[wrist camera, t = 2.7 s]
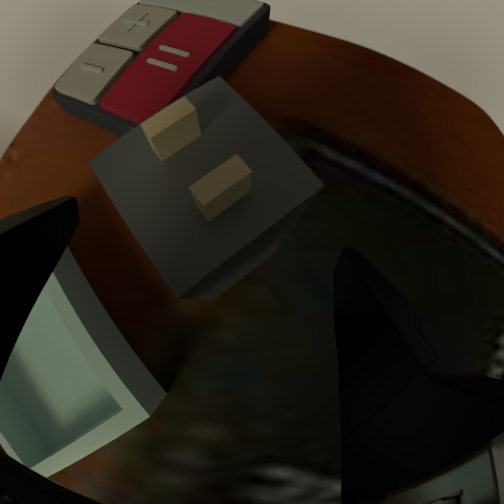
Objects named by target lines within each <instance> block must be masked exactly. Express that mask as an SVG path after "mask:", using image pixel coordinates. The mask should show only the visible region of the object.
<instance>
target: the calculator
mask: <svg viewBox="0 0 504 504" xmlns="http://www.w3.org/2000/svg"><path fill="white" fill-rule="evenodd" d="M269 15H270V5H268V4H266V3H263V2H260V1H257V0H141V1H140V2H139V3H137V4H135V5H133V6H131V7H130V8H129V9H128V10H127V11H126V12H124V13H123V14H122V15H121V16H120V17H119V18H118V19H117V20H115V21H114V22H113V23H112V24H111V25H110V26H109V27H108V28H107V29H106V30H105V31H104V32H103V33H102V34H101V35H100V36H99V37H98V40H97V41H96V42H95V43H93V44H91V45H90V46H89V47H88V48H87V49H86V50H85V51H84V52H83V53H82V54H81V56H80V57H79V58H78V59H77V60H76V61H75V62H74V63H73V65H72V66H71V67H70V68H69V69H68V70H67V72H66V73H65V74H64V75H63V76H62V78H61V79H60V80H59V81H58V83H57V84H56V85H55V89H54V91H53V92H52V97H53V98H54V99H55V100H56V102H57V103H58V104H59V105H60V106H61V107H62V108H63V109H64V110H65V111H66V112H67V113H69V114H72V115H74V116H76V117H79V118H81V119H83V120H85V121H88V122H90V123H92V124H94V125H97V126H99V127H101V128H103V129H105V130H108V131H110V132H112V133H114V134H116V135H118V136H121V137H122V136H123V135H125V134H126V133H127V132H129V131H130V130H132V129H133V128H134V127H136V126H137V125H139V124H140V123H142V122H143V121H145V120H146V119H148V118H149V117H151V116H152V115H154V114H155V113H157V112H158V111H160V110H161V109H163V108H165V107H166V106H168V105H169V104H171V103H173V102H174V101H176V100H178V99H179V98H181V97H183V96H184V95H186V94H188V93H189V92H191V91H193V90H195V89H196V88H198V87H200V86H202V85H203V84H205V83H207V82H209V81H211V80H213V79H215V78H216V77H218V76H220V77H221V78H222V79H223V80H225V78H226V77H227V76H228V75H229V73H230V72H231V71H232V70H233V69H234V67H235V66H236V65H237V64H238V63H239V62H240V60H241V59H242V58H243V57H246V56H247V55H248V54H249V53H250V52H251V51H252V50H253V49H254V48H255V47H256V45H257V44H258V43H259V42H260V41H261V40H262V39H263V38H264V37H265V36H266V35H267V34H268V26H269Z"/></svg>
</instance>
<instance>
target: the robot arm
mask: <svg viewBox="0 0 504 504" xmlns="http://www.w3.org/2000/svg"><path fill="white" fill-rule="evenodd" d="M78 223H79V213H78V205H77V200H76V198H75V197H70V196H64V197H60V198H57V199H54V200H52V201H49V202H46V203H43V204H40V205H37V206H34V207H32V208H29V209H26V210H23V211H21V212H18V213H16V214H13V215H10V216H8V217H5V218H3V219H0V381H1V378H2V376H3V373H4V370H5V368H6V365H7V363H8V361H9V357H10V355H11V353H12V351H13V349H14V346H15V344H16V342H17V340H18V337H19V335H20V333H21V331H22V329H23V327H24V325H25V323H26V321H27V319H28V317H29V315H30V313H31V311H32V309H33V307H34V305H35V303H36V301H37V299H38V297H39V296H40V294H41V292H42V290H43V288H44V286H45V285H46V283H47V281H48V279H49V278H50V276H51V274H52V272H53V271H54V269H55V267H56V266H57V264H58V262H59V261H60V259H61V257H62V255H63V253H64V251H65V249H66V247H67V245H68V243H69V241H70V239H71V237H72V235H73V234H74V232H75V230H76V228H77V226H78ZM334 324H335V335H336V346H337V359H338V373H339V390H340V411H341V440H342V442H341V459H342V475H341V504H383V503H384V504H504V380H502V379H496V378H492V377H489V376H487V375H485V374H483V373H481V372H480V371H479V370H478V369H476V368H475V367H474V366H473V365H472V364H471V363H470V362H469V361H468V360H467V359H466V358H465V357H464V356H463V355H462V354H461V353H460V352H459V351H458V350H457V349H456V348H455V347H454V346H453V345H452V344H451V343H450V342H449V341H448V340H447V339H446V338H445V337H444V336H443V335H442V334H441V333H440V332H439V331H438V330H437V329H436V328H435V327H434V326H433V325H432V324H431V323H430V322H429V321H428V320H427V319H426V318H425V316H424V315H421V312H420V311H419V310H418V309H417V308H416V307H415V306H414V305H413V304H412V303H411V302H410V301H409V300H408V299H407V298H406V297H405V296H404V295H403V294H402V293H401V292H400V291H399V290H398V289H397V288H396V287H395V286H394V285H393V284H392V283H391V282H390V281H389V280H388V279H387V278H386V277H385V276H384V275H383V274H382V273H381V272H380V271H379V270H378V269H377V268H376V267H375V266H374V265H373V264H372V263H371V262H370V261H369V260H368V259H367V258H366V257H365V256H364V255H363V254H361V253H360V252H359V251H358V250H357V249H355V248H350V247H345V248H343V250H342V252H341V255H340V257H339V259H338V262H337V264H336V267H335V271H334ZM1 496H3V497H5V498H7V499H9V500H11V501H13V502H14V503H12V502H10V501H8V500H6V499H3V498H1ZM0 504H103V503H101V502H98V501H96V500H93V499H91V498H88V497H86V496H84V495H81V494H79V493H77V492H75V491H72V490H70V489H68V488H66V487H64V486H62V485H60V484H58V483H56V482H54V481H52V480H50V479H48V478H46V477H44V476H42V475H41V474H39V473H37V472H35V471H33V470H32V469H30V468H28V467H27V466H25V465H23V464H22V463H20V462H18V461H17V460H15V459H14V458H12V457H10V456H9V455H7V454H6V453H4V452H3V451H1V450H0Z"/></svg>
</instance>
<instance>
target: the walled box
mask: <svg viewBox="0 0 504 504" xmlns="http://www.w3.org/2000/svg"><path fill="white" fill-rule="evenodd" d="M166 395H167V393H166V392H165V391H164V390H163V388H162V387H161V386H160V385H159V383H158V382H157V381H156V380H155V378H154V377H153V376H152V375H151V373H150V372H149V371H148V370H147V368H146V367H145V366H144V364H143V363H142V362H141V360H140V359H139V358H138V356H137V355H136V354H135V352H134V351H133V350H132V348H131V347H130V345H129V344H128V343H127V341H126V340H125V338H124V337H123V335H122V334H121V333H120V331H119V330H118V328H117V327H116V325H115V324H114V322H113V321H112V319H111V318H110V316H109V315H108V313H107V312H106V310H105V309H104V307H103V306H102V304H101V302H100V301H99V299H98V298H97V296H96V294H95V293H94V291H93V289H92V288H91V286H90V284H89V283H88V281H87V279H86V278H85V276H84V274H83V273H82V271H81V269H80V267H79V265H78V264H77V262H76V260H75V258H74V256H73V255H72V253H71V251H70V249H69V247H68V245H67V247H66V249H65V251H64V253H63V255H62V257H61V259H60V261H59V262H58V264H57V266H56V267H55V269H54V271H53V272H52V274H51V276H50V278H49V279H48V281H47V283H46V285H45V286H44V288H43V290H42V292H41V294H40V296H39V297H38V299H37V301H36V303H35V305H34V307H33V309H32V311H31V313H30V315H29V317H28V319H27V321H26V323H25V325H24V327H23V329H22V331H21V333H20V335H19V337H18V340H17V342H16V344H15V346H14V349H13V351H12V353H11V355H10V357H9V361H8V363H7V365H6V368H5V370H4V373H3V376H2V378H1V381H0V444H1V446H2V447H3V449H4V450H5V451H6V453H7V454H8V455H9V456H10V457H12V458H14V459H15V460H17V461H18V462H20V463H22V464H23V465H25V466H27V467H28V468H30V469H32V470H33V471H35V472H37V473H39V474H41V475H42V476H44V477H46V478H47V477H48V476H50V475H52V474H54V473H56V472H58V471H60V470H62V469H63V468H65V467H67V466H69V465H71V464H73V463H74V462H76V461H78V460H80V459H81V458H83V457H85V456H87V455H88V454H90V453H92V452H94V451H95V450H97V449H99V448H100V447H102V446H104V445H105V444H107V443H109V442H110V441H112V440H114V439H115V438H117V437H119V436H120V435H122V434H123V433H125V432H127V431H128V430H130V429H131V428H133V427H135V426H136V425H138V424H139V423H141V422H142V421H144V420H145V419H147V418H149V417H150V416H151V415H152V413H153V412H154V411H155V409H156V408H157V407H158V405H159V404H160V403H161V402H162V400H163V399H164V398H165V396H166Z"/></svg>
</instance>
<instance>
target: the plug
mask: <svg viewBox="0 0 504 504" xmlns="http://www.w3.org/2000/svg"><path fill="white" fill-rule="evenodd" d="M89 164H90V166H91V167H92V169H93V171H94V173H95V174H96V176H97V178H98V179H99V181H100V183H101V184H102V186H103V188H104V189H105V191H106V193H107V194H108V196H109V198H110V199H111V201H112V202H113V204H114V206H115V207H116V209H117V210H118V212H119V214H120V215H121V217H122V218H123V220H124V221H125V223H126V224H127V226H128V228H129V229H130V231H131V232H132V234H133V235H134V237H135V238H136V240H137V241H138V243H139V244H140V246H141V247H142V249H143V250H144V252H145V253H146V255H147V256H148V257H149V259H150V260H151V262H152V263H153V265H154V266H155V267H156V269H157V270H158V272H159V273H160V275H161V276H162V277H163V279H164V280H165V282H166V283H167V284H168V286H169V287H170V289H171V290H172V291H173V293H174V294H175V295H176V297H177V298H186V299H198V300H211V301H213V300H214V299H216V298H217V297H218V296H220V295H221V294H222V293H223V292H225V291H226V290H227V289H229V288H230V287H231V286H233V285H234V284H235V283H236V282H238V281H239V280H240V279H242V278H243V277H244V276H245V275H247V274H248V273H249V272H251V271H252V270H253V269H254V268H256V267H257V266H258V265H260V264H261V263H262V262H263V261H265V260H266V259H267V258H269V257H270V256H271V255H272V254H273V253H274V252H275V250H276V249H277V248H278V246H279V245H280V244H281V243H282V241H283V240H284V239H285V237H286V236H287V235H288V233H289V232H290V231H291V229H292V228H293V227H294V225H295V224H296V223H297V221H298V220H299V219H300V217H301V216H302V215H303V213H304V212H305V211H306V210H307V208H308V207H309V206H310V204H311V203H312V202H313V200H314V199H315V198H316V196H317V195H318V194H319V192H320V191H321V190H322V188H323V187H324V184H323V183H322V182H321V181H320V180H319V179H318V177H317V176H316V175H315V174H314V173H313V172H312V171H311V169H310V168H309V167H308V166H307V165H306V164H305V163H304V162H303V160H302V159H301V158H300V157H299V156H298V155H297V154H296V153H295V152H294V150H293V149H292V148H291V147H290V146H289V145H288V144H287V143H286V142H285V141H284V140H283V139H282V137H281V136H280V135H279V134H278V133H277V132H276V131H275V130H274V129H273V128H272V127H271V126H270V125H269V124H268V123H267V122H266V121H265V120H264V119H263V118H262V117H261V116H260V115H259V114H258V113H257V112H256V111H255V110H254V109H253V108H252V107H251V106H250V105H249V104H248V103H247V102H246V101H245V100H244V99H243V98H242V97H241V96H240V95H239V94H238V93H237V92H236V91H235V90H234V89H233V88H232V87H231V86H230V85H229V84H228V83H227V82H225V81H224V80H223V79H222V78H221V77H220V76H218V77H216V78H215V79H213V80H211V81H209V82H207V83H205V84H203V85H202V86H200V87H198V88H196V89H195V90H193V91H191V92H189V93H188V94H186V95H184V96H183V97H181V98H179V99H178V100H176V101H174V102H173V103H171V104H169V105H168V106H166V107H165V108H163V109H161V110H160V111H158V112H157V113H155V114H154V115H152V116H151V117H149V118H148V119H146V120H145V121H143V122H142V123H140V124H139V125H137V126H136V127H134V128H133V129H132V130H130V131H129V132H127V133H126V134H125V135H123V136H122V137H120V138H119V139H118V140H116V141H115V142H114V143H112V144H111V145H110V146H108V147H107V148H106V149H104V150H103V151H102V152H101V153H99V154H98V155H97V156H95V157H94V158H93V159H92V160H90V161H89Z"/></svg>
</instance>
